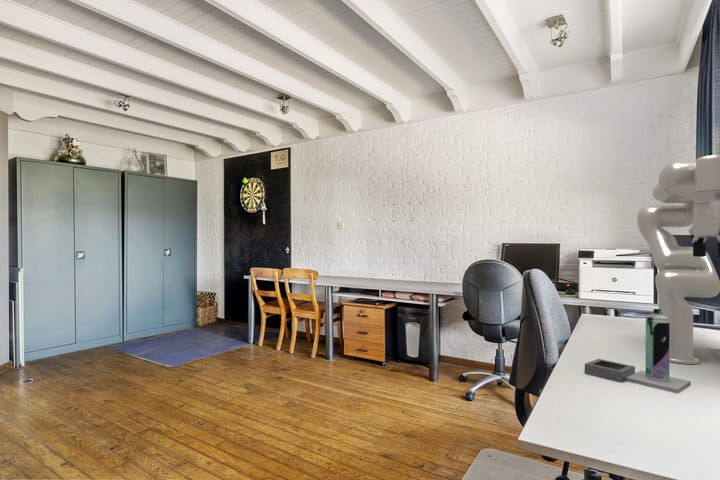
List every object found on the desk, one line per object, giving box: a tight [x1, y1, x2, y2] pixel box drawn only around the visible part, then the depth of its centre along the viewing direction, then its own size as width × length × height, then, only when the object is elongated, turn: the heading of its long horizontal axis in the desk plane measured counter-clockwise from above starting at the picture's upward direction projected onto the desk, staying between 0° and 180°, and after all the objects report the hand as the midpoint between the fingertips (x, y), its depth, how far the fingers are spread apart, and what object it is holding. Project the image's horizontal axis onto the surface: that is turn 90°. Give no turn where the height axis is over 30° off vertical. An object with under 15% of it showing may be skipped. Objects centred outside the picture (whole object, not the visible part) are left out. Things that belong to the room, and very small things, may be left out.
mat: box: [625, 370, 692, 394], centre depth 113 cm, size 12×12×1 cm
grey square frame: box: [584, 358, 636, 384], centre depth 119 cm, size 10×10×3 cm
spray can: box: [645, 308, 670, 382], centre depth 113 cm, size 6×6×20 cm
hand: (711, 256), depth 115 cm, fingers open, 9 cm apart
